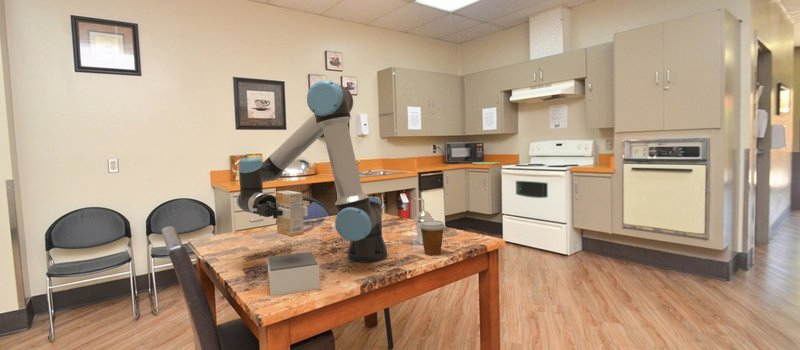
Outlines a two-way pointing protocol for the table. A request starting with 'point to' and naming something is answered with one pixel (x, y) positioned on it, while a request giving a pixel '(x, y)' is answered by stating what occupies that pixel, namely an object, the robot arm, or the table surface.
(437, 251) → the disposable coffee cup
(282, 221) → the supplement box
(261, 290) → the table surface
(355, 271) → the table surface
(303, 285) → the riser block
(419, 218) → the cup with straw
